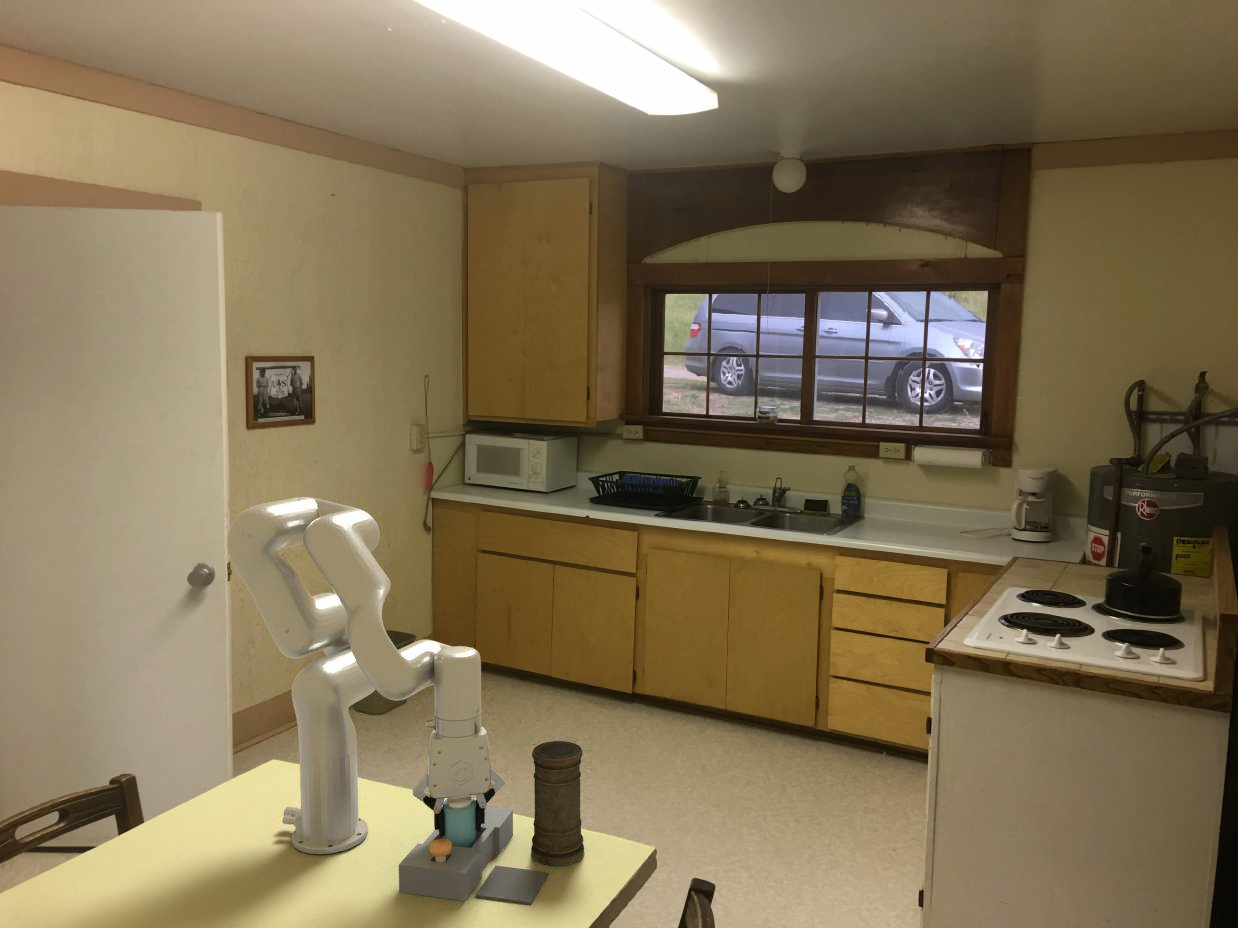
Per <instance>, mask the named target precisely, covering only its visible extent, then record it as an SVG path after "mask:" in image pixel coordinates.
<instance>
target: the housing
mask: <svg viewBox="0 0 1238 928" xmlns="http://www.w3.org/2000/svg"><path fill="white" fill-rule="evenodd" d="M513 835H514V809H512V808H511V809H510V808H501V807H493V806H492V807H491V806H486V810H485V824H481V832H478V831H476V843H475V844H474V845H473V846H472V848H466V847H458V846H452V851H451V853H450V854H448V855H446V863H441V862H436V857H435V856H432V855H431V854H430V843H431V842H432V841H434V840H437V839H443V837H440V835H439V830H435V829H434V830H433V831H432V832H431V833H430V834H429V836H428V837H427V838H426V839H425V841H424V842H423V843H416V844H415V846H414V847H413V848H412V849H411V850H410V852H409V853H408V854H407V855H405V857H404V858H403V859H402V860H401V861H400V862H399V864H398V893H401V894H408V895H416V896H422V897H423V896H425V897H431V898H439V899H446V900H453V901H454V900H455V901H460V902H466V901H467V900H468V899H469V897H470V896H471V895H472V893H473V892H474V890H475V888H476V887H477V886H478V884H479V883H480V882H481V880H482V879H483V870H484V869H485V868H486V866H487V864H488V863H489V862H490V860H491V859H492V858H493V856H494V855H495V854H500V853H501V852H502V851H503V849H504V848H505V847H506V845H507V843H508V842H509V841H510V839H511V838H512V837H513Z"/></svg>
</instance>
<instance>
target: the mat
mask: <svg viewBox="0 0 1238 928" xmlns="http://www.w3.org/2000/svg"><path fill="white" fill-rule="evenodd" d="M548 877H549V871H544V870H543V871H541V870H534V869H526V868H519V867H512V866H511V867H510V866H504V865H503V866H502V865H494V867H493V869H492V870H491V871H490V873H489V874H488V876H487V877H486V879H485V880H484V881H483V883H482V884H481V885H480V887H479V888H478V890H477V892H475V894H474V897H475V898H478V899H484V900H485V899H487V900H494V901H501V902H508V903H516V904H521V905H522V904H523V905H529V906H531V905H532V904H533V902H534V900H535V898H536V896H537V895H538V893H539V891H540V890H541V888H542V886H543V884H544V883H545V881H546V879H547V878H548Z"/></svg>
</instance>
